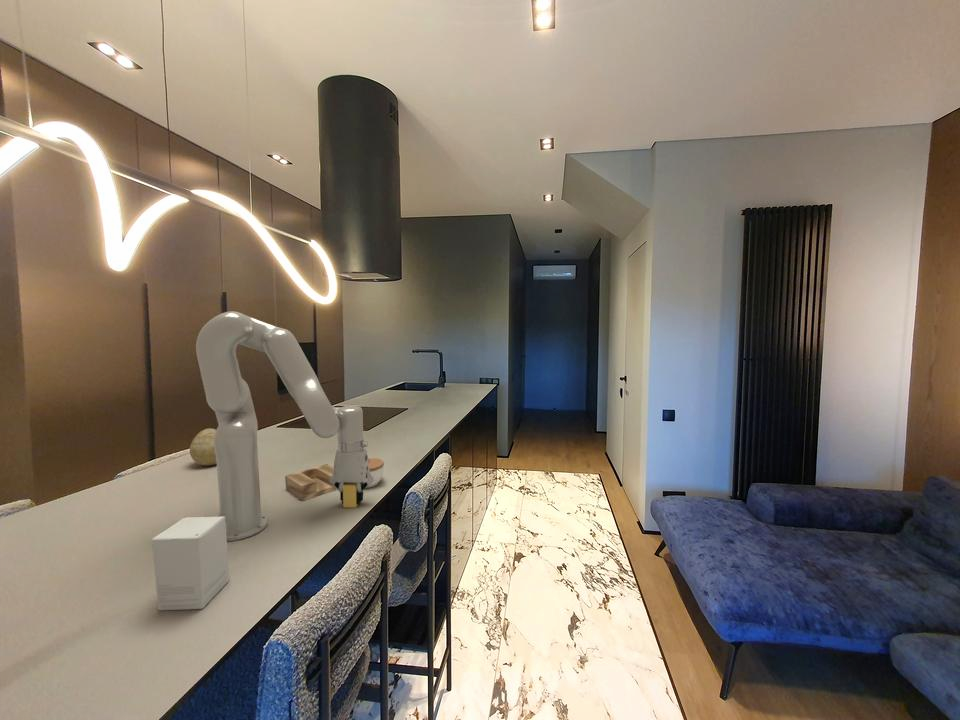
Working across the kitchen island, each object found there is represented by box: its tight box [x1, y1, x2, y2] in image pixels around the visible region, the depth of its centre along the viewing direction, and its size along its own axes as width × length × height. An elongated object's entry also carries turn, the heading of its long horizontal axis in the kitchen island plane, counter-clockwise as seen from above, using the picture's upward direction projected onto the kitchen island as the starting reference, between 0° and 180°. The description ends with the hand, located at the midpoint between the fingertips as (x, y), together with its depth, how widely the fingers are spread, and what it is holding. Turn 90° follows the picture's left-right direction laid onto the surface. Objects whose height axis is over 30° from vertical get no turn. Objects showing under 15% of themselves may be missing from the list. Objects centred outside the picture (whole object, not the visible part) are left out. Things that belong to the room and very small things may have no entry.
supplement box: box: [151, 516, 230, 611], centre depth 78 cm, size 9×9×15 cm
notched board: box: [284, 463, 339, 502], centre depth 131 cm, size 15×13×5 cm
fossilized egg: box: [189, 428, 217, 467], centre depth 153 cm, size 13×13×15 cm
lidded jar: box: [364, 457, 385, 489], centre depth 134 cm, size 11×11×9 cm
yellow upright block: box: [342, 483, 359, 508], centre depth 118 cm, size 4×4×7 cm
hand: (351, 501), depth 119 cm, fingers closed on yellow upright block, 4 cm apart
